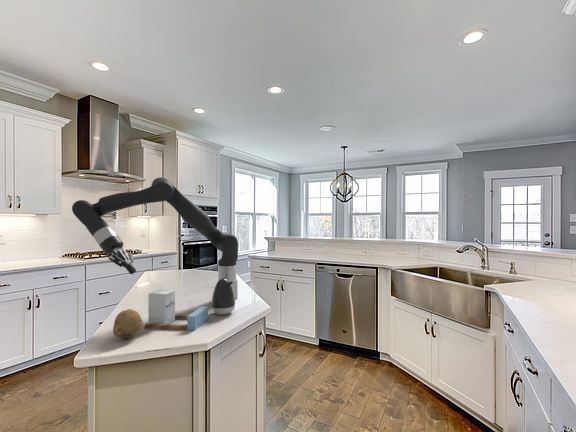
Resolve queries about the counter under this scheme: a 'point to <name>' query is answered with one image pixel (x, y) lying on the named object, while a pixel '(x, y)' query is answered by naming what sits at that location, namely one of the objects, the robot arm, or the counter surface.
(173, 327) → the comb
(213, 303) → the pump dispenser
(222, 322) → the counter surface
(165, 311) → the supplement box
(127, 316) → the brown potato
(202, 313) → the blue rectangular block
